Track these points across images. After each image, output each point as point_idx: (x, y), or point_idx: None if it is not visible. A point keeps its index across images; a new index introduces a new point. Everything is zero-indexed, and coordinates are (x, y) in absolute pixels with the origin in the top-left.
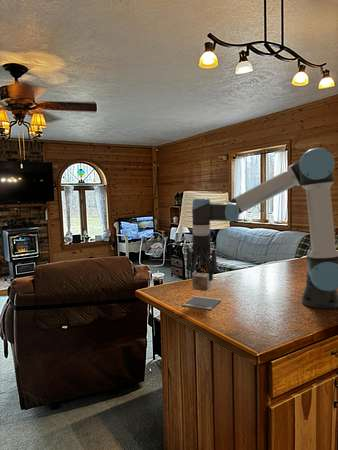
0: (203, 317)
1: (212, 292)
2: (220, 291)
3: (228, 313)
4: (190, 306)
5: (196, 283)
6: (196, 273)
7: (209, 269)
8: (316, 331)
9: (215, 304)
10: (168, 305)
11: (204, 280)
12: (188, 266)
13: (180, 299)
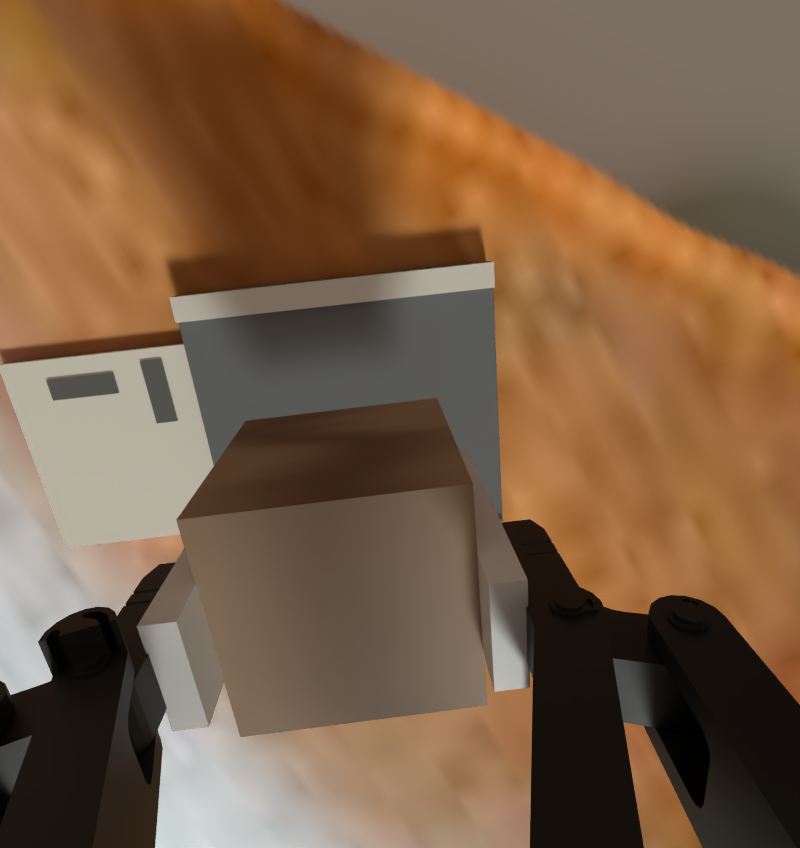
0: (141, 92)
1: (438, 720)
2: (394, 764)
3: (16, 335)
4: (400, 272)
5: (381, 437)
6: (484, 653)
7: (57, 724)
8: None
9: (215, 442)
10: (641, 237)
11: (221, 482)
12: (702, 671)
13: (607, 449)
